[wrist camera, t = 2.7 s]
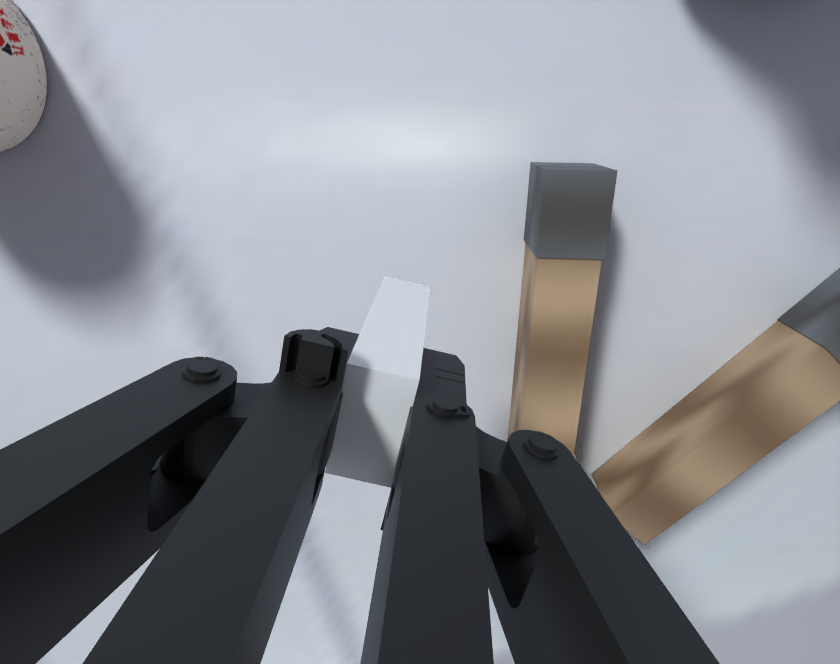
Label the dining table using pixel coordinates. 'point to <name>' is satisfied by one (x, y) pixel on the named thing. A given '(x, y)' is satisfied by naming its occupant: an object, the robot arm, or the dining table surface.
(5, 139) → the teacup with lid
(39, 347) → the dining table surface
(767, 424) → the tongs lower arm
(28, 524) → the robot arm
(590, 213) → the bar
